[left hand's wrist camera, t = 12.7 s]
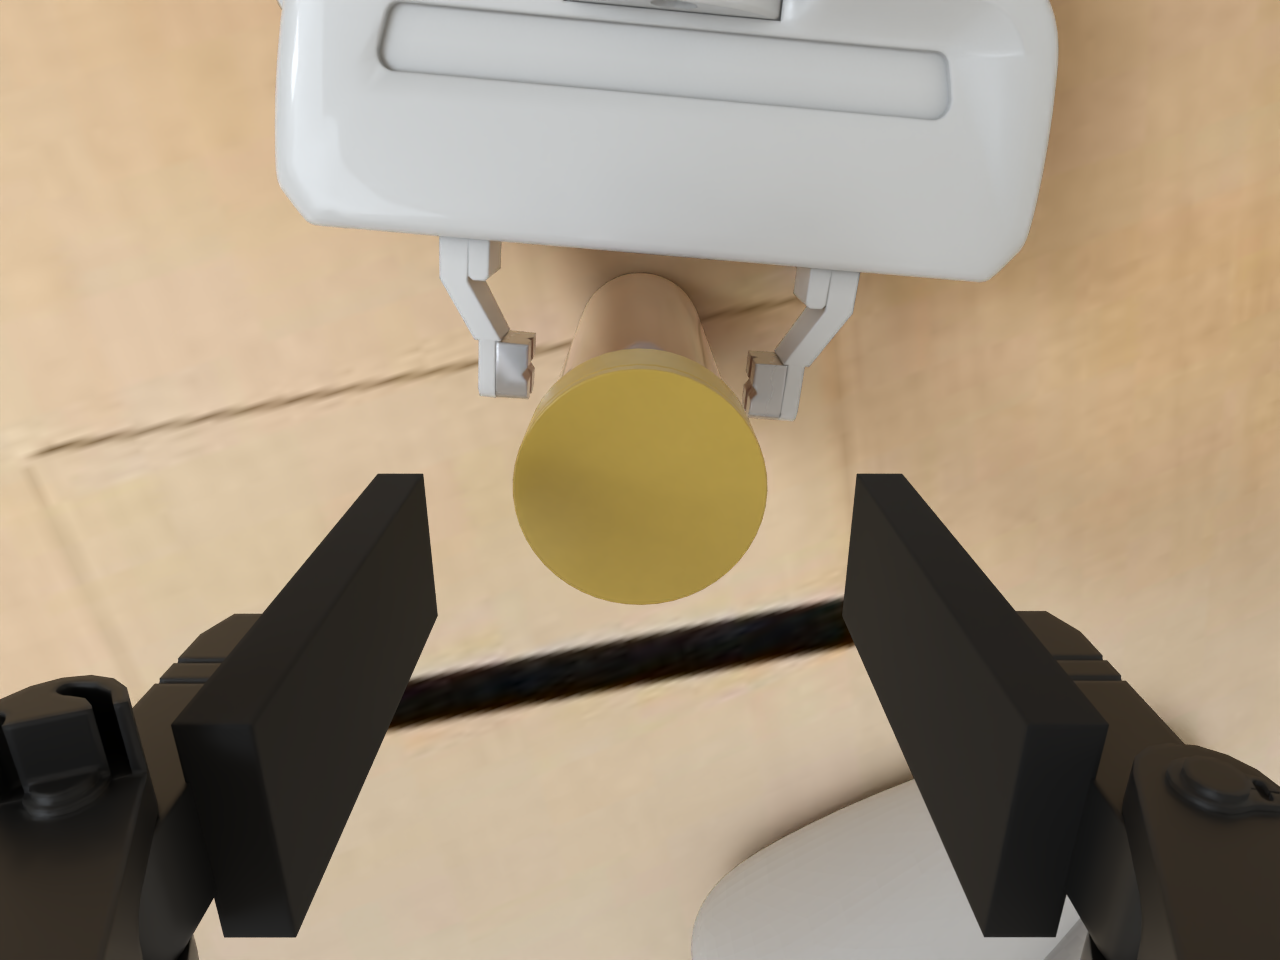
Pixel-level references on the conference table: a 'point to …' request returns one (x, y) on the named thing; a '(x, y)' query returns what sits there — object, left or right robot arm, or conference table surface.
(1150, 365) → the conference table surface
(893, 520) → the left robot arm
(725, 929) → the projector
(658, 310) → the jar
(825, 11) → the right robot arm
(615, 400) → the lid
